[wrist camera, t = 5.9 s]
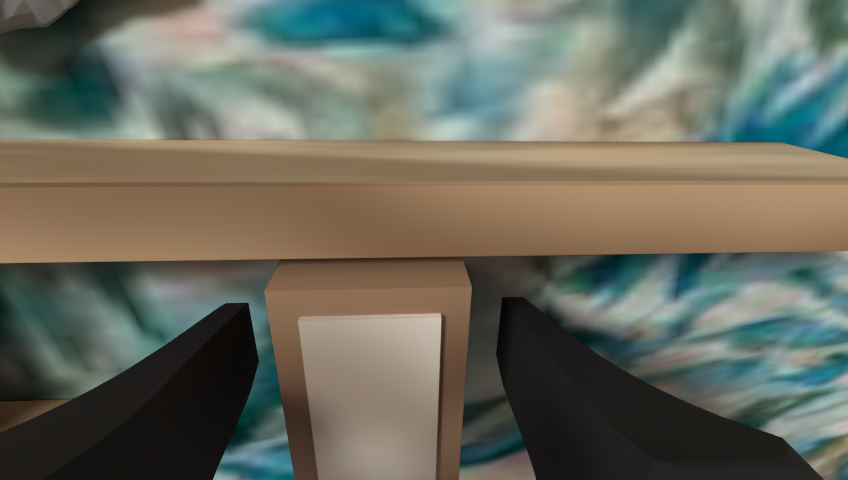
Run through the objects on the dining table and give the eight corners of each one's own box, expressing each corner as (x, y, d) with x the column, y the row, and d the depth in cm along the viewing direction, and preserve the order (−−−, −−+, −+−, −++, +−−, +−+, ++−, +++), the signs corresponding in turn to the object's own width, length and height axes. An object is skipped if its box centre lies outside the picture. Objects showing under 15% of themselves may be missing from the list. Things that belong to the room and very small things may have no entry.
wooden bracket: (690, 393, 17) (781, 498, 13) (-61, 421, 15) (-224, 554, 11) (779, 142, 13) (952, 184, 9) (-234, 138, 11) (-587, 189, 7)
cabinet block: (438, 360, 15) (458, 496, 11) (326, 364, 15) (296, 505, 10) (444, 202, 13) (473, 290, 8) (310, 204, 13) (261, 295, 8)
